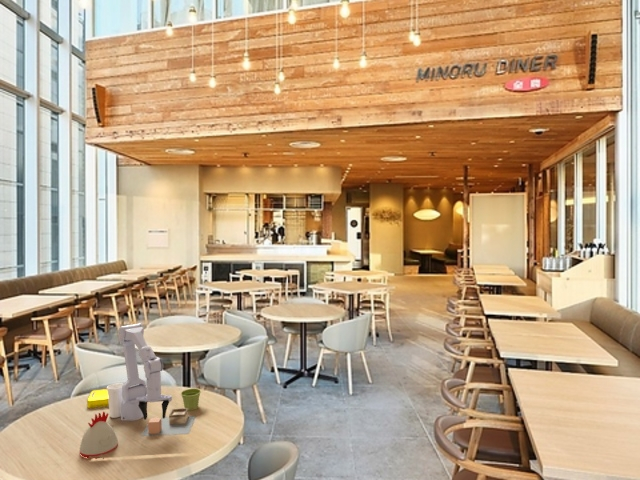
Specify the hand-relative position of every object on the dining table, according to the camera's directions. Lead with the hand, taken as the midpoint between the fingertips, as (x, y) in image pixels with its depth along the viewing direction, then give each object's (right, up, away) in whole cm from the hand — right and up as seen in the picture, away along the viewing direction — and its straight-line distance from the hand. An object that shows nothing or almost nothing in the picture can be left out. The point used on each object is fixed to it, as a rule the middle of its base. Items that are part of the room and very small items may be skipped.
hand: (154, 418), depth 201 cm
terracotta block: (0, -6, 0) cm, 6 cm away
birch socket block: (+7, -5, +11) cm, 14 cm away
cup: (-25, -6, +19) cm, 32 cm away
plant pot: (+9, -6, +25) cm, 27 cm away
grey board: (+5, -7, +6) cm, 10 cm away
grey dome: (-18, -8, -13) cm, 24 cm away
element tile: (-39, -6, +37) cm, 54 cm away
